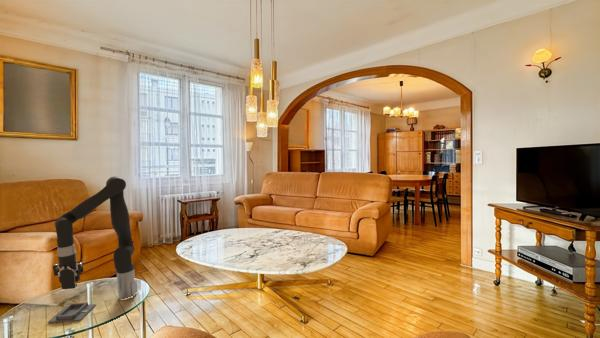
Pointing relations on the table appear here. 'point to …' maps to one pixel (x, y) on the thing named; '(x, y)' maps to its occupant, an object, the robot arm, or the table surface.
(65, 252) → the robot arm
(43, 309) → the table surface
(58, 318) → the dock
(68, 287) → the battery
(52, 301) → the table surface
